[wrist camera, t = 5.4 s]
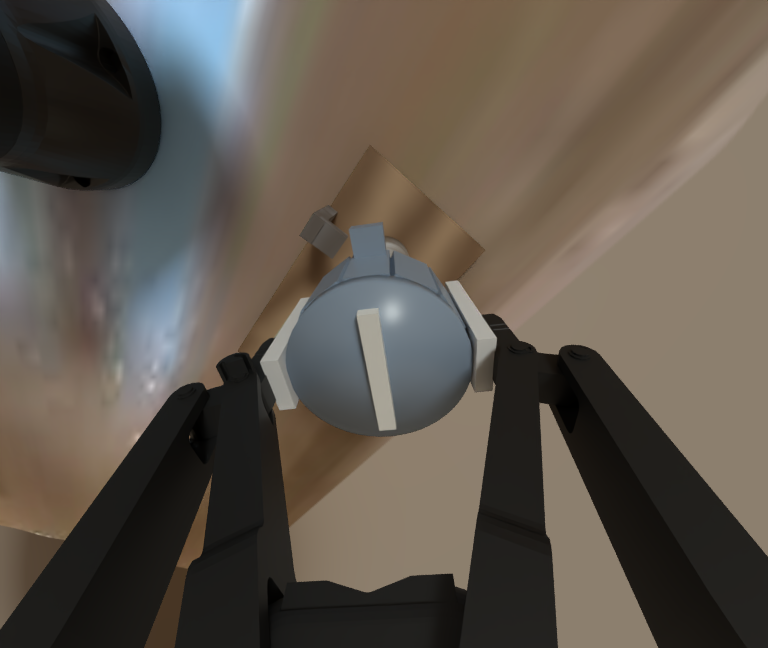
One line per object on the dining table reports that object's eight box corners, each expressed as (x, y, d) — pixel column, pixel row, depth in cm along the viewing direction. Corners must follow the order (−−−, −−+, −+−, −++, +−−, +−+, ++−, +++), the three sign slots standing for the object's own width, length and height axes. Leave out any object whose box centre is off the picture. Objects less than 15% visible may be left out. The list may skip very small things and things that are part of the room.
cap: (289, 234, 14) (238, 264, 9) (447, 212, 14) (480, 232, 9) (334, 395, 19) (316, 469, 14) (452, 384, 19) (474, 457, 14)
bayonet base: (240, 344, 34) (206, 383, 28) (368, 144, 24) (362, 133, 18) (339, 400, 38) (330, 445, 32) (483, 248, 28) (511, 270, 22)
